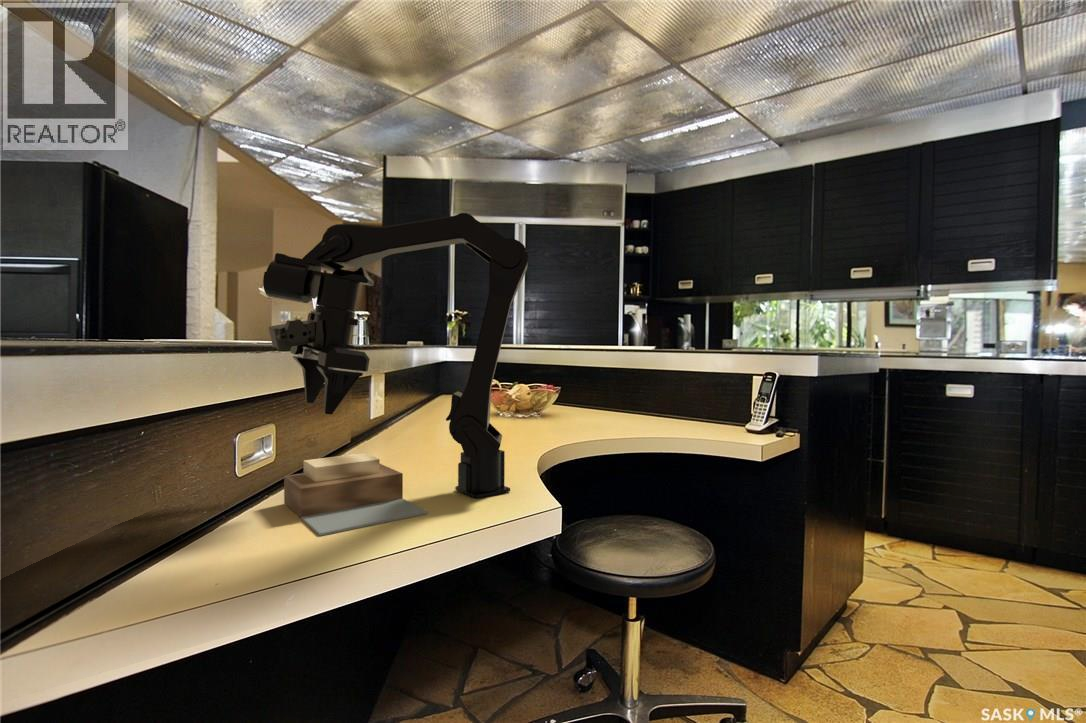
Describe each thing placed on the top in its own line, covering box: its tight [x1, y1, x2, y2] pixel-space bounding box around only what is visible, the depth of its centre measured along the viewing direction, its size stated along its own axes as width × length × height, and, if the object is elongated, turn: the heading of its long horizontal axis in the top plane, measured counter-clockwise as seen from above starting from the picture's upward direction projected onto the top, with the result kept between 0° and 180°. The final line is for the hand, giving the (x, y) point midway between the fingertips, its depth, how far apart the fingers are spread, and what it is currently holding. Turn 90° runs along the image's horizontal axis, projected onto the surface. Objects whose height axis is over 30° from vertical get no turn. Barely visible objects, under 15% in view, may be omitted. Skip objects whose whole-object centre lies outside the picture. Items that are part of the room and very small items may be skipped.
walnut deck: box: [283, 463, 404, 519], centre depth 77 cm, size 14×9×4 cm, turn 129°
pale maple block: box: [303, 452, 381, 482], centre depth 77 cm, size 9×6×2 cm, turn 129°
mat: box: [300, 498, 428, 537], centre depth 70 cm, size 14×8×1 cm, turn 129°
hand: (318, 408), depth 81 cm, fingers open, 9 cm apart
